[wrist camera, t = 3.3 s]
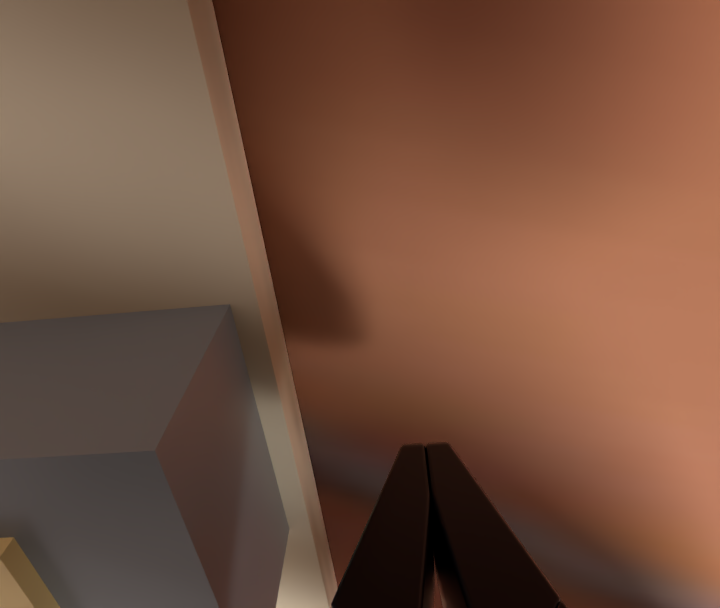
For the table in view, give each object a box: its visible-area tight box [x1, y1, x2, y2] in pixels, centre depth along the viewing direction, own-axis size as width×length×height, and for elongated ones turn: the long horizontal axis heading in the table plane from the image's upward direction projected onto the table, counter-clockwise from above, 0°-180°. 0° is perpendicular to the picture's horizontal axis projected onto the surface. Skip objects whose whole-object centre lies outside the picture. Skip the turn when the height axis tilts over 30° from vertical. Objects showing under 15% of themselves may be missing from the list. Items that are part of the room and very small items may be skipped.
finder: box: [0, 304, 289, 608], centre depth 9 cm, size 6×5×4 cm
